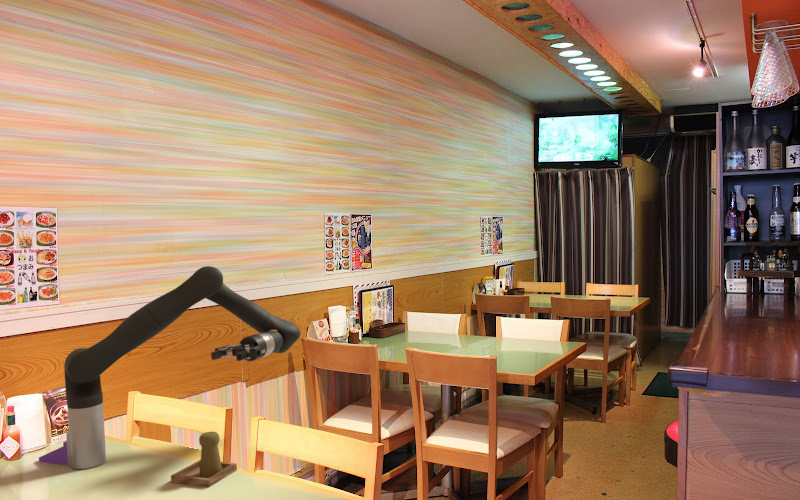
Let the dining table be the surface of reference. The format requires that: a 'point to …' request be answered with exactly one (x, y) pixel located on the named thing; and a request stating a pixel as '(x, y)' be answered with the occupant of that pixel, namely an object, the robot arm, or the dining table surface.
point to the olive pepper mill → (209, 454)
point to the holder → (192, 477)
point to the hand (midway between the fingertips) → (224, 356)
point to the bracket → (56, 456)
